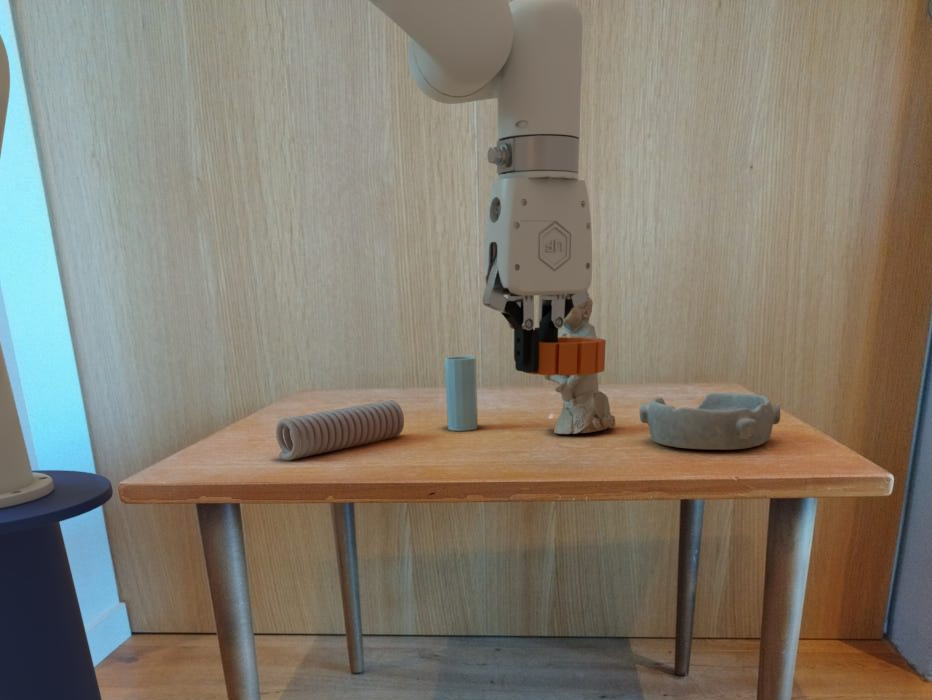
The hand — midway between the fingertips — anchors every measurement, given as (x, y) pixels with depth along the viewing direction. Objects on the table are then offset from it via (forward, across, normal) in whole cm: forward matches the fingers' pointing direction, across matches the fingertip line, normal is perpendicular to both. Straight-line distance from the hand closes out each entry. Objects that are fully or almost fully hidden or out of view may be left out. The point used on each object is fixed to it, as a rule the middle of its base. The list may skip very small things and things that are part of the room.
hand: (535, 369), depth 86 cm
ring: (0, +3, 0) cm, 3 cm away
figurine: (+10, +17, +14) cm, 24 cm away
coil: (+11, -11, +24) cm, 29 cm away
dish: (+10, +24, -2) cm, 26 cm away
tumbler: (+10, +7, +26) cm, 29 cm away
